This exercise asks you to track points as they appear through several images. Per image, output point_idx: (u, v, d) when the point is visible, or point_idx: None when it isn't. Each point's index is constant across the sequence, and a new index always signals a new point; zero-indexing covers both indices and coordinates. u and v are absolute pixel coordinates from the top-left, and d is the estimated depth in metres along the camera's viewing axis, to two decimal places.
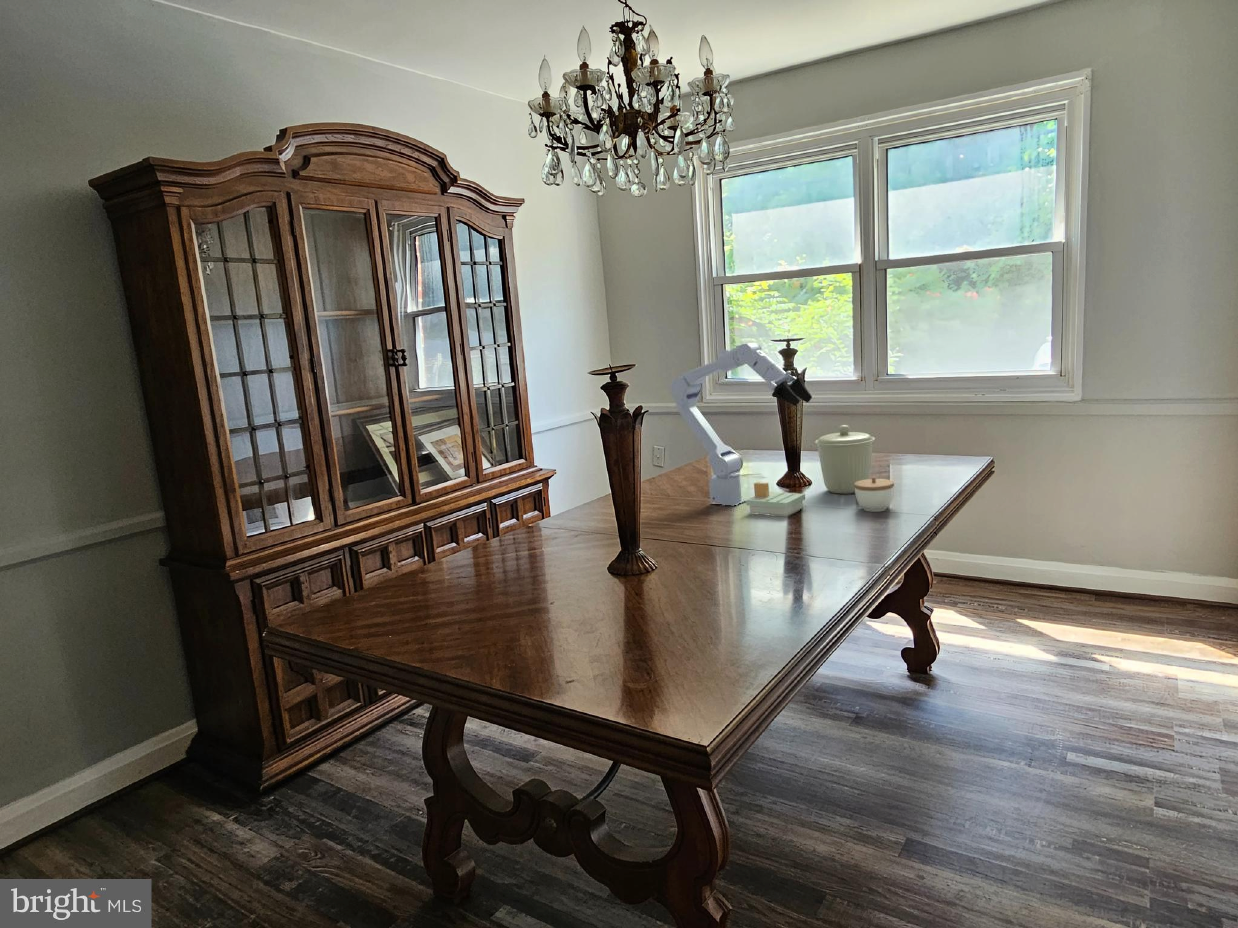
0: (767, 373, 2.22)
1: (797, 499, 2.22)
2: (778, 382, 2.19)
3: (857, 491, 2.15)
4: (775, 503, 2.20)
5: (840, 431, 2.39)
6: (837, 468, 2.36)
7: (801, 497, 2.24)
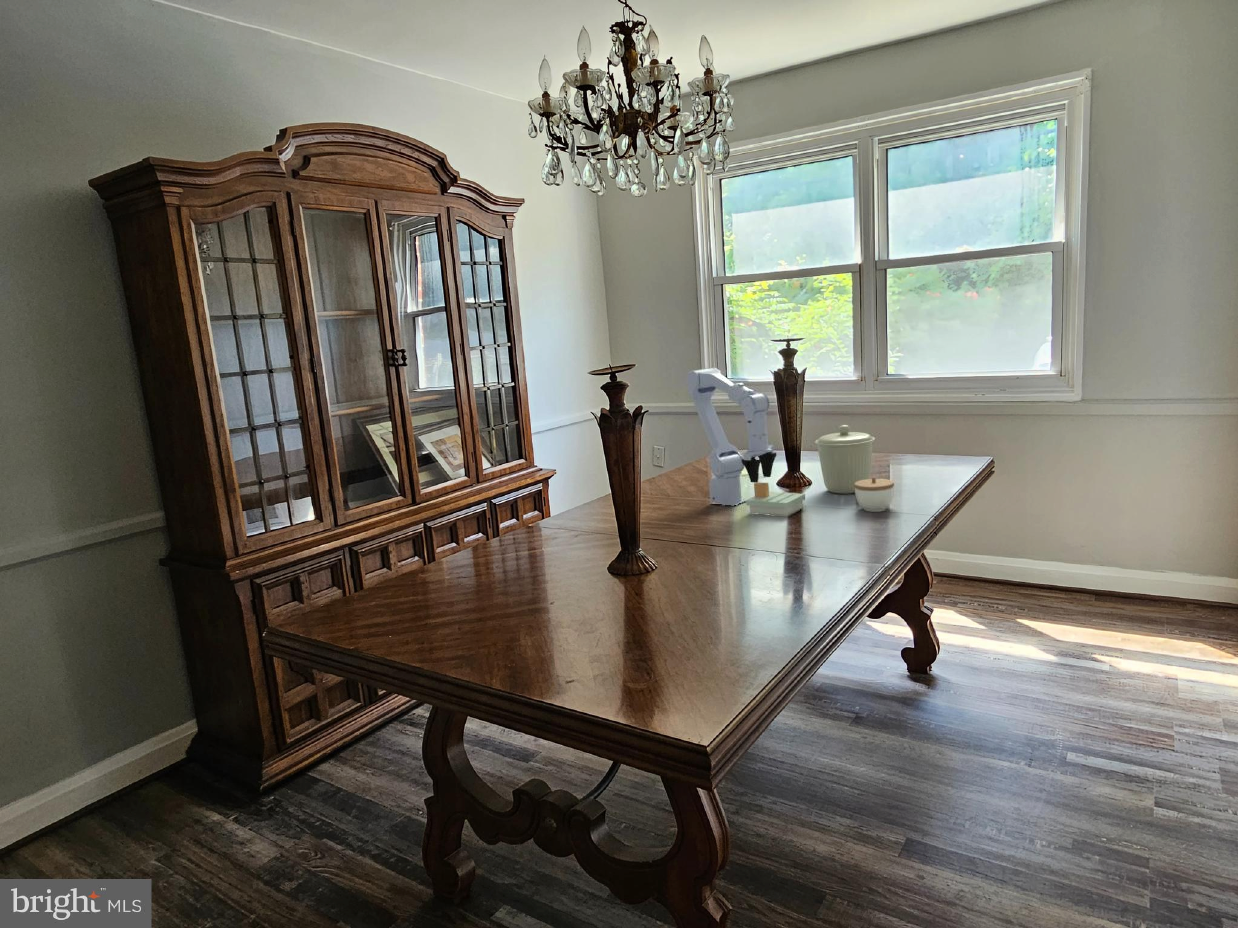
0: (753, 438, 2.24)
1: (797, 499, 2.22)
2: None
3: (857, 491, 2.15)
4: (775, 503, 2.20)
5: (840, 431, 2.39)
6: (837, 468, 2.36)
7: (801, 497, 2.24)
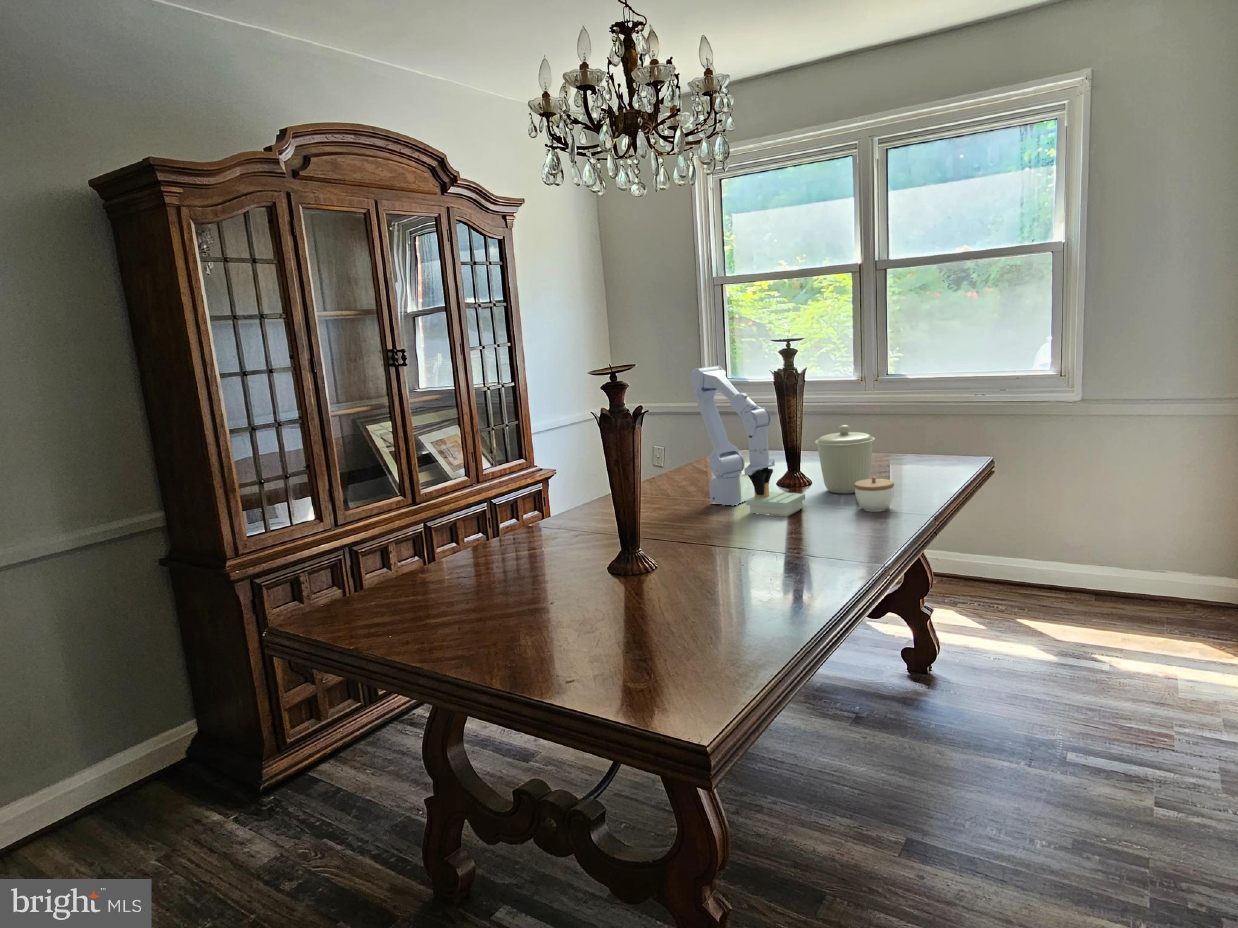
0: (754, 453, 2.24)
1: (797, 499, 2.22)
2: None
3: (857, 491, 2.15)
4: (775, 503, 2.20)
5: (840, 431, 2.39)
6: (837, 468, 2.36)
7: (801, 497, 2.24)
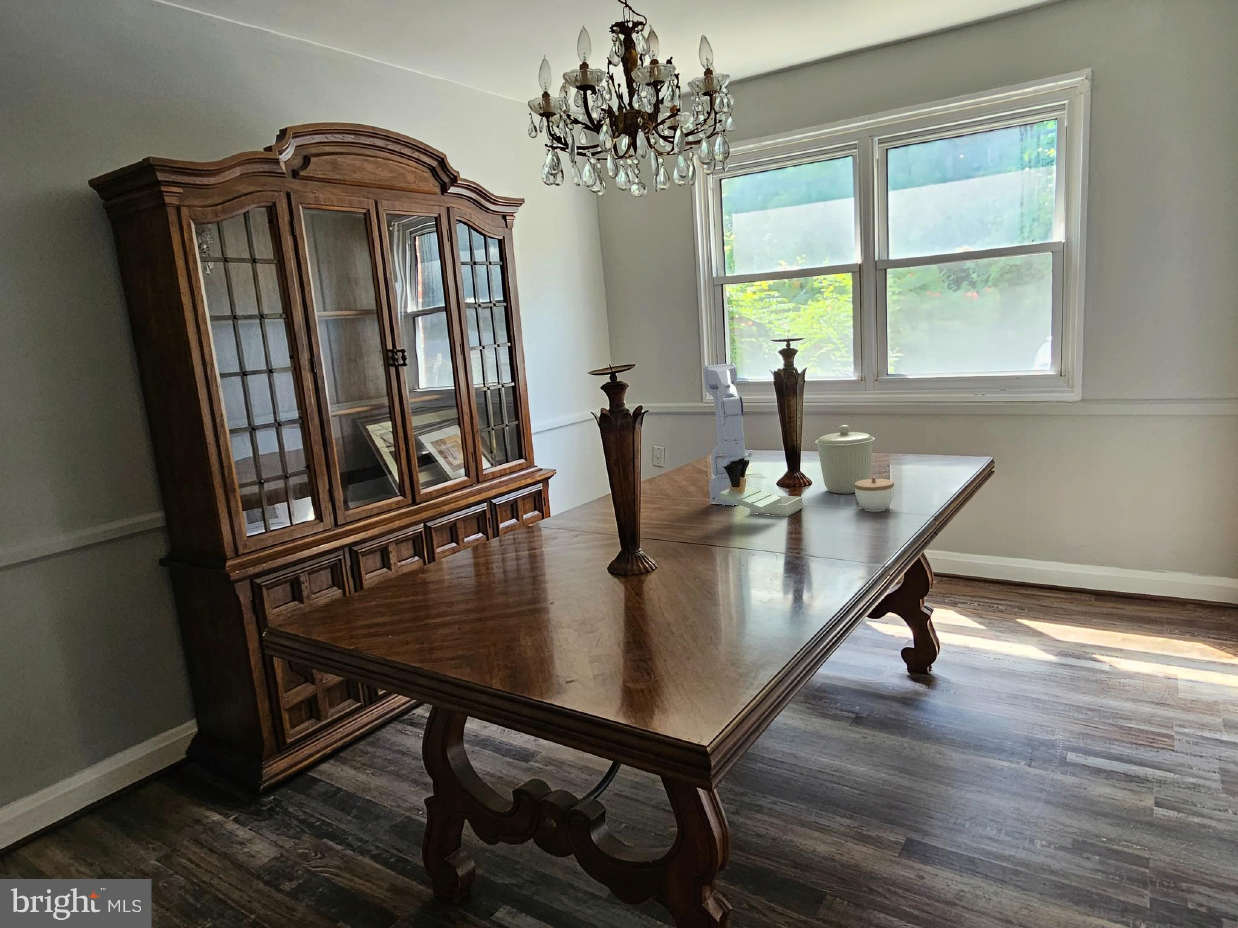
0: (729, 443, 2.14)
1: (772, 503, 2.13)
2: None
3: (857, 491, 2.15)
4: (749, 504, 2.10)
5: (840, 431, 2.39)
6: (837, 468, 2.36)
7: (777, 501, 2.15)
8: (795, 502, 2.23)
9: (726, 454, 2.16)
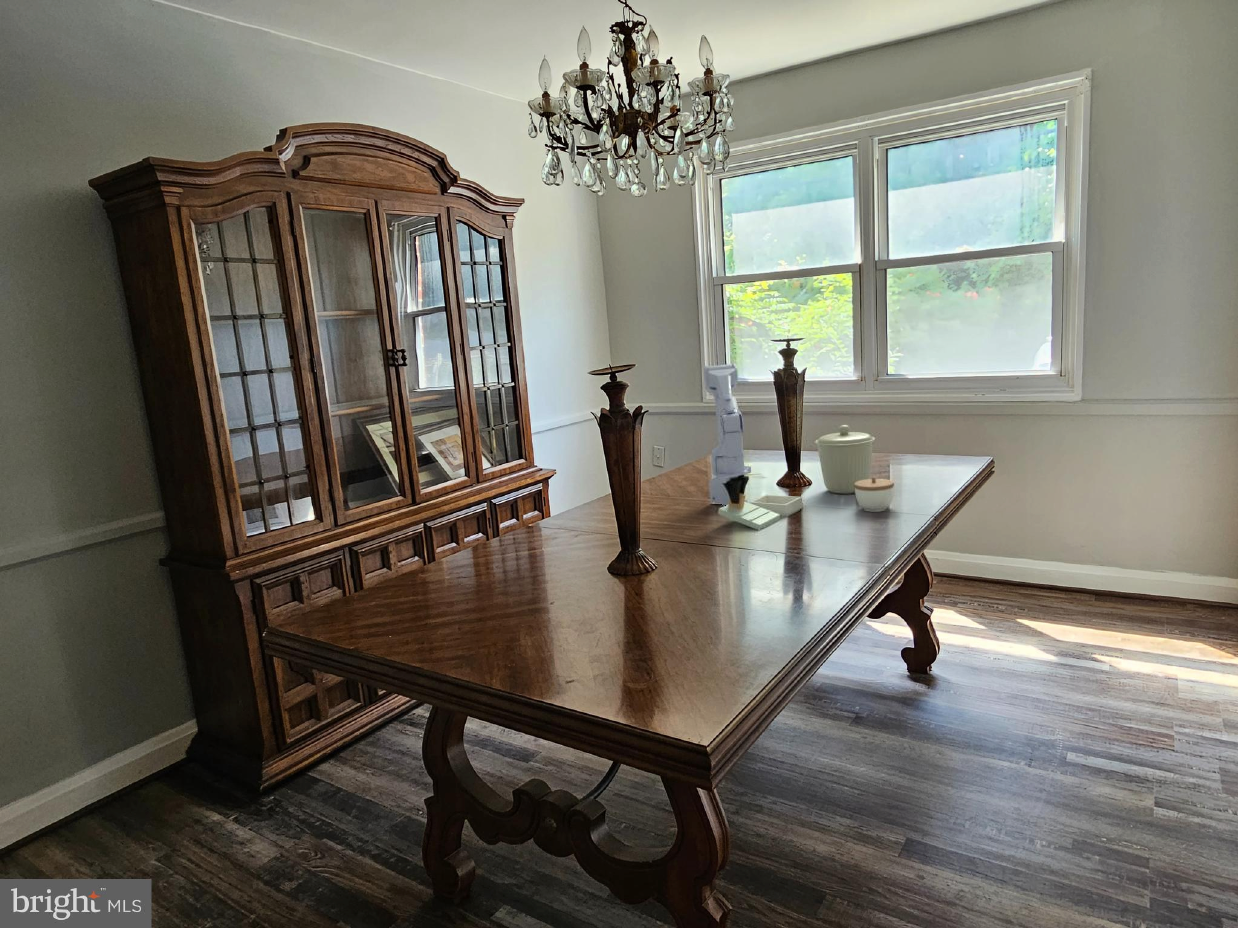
0: (729, 459, 2.14)
1: (771, 520, 2.13)
2: (730, 476, 2.14)
3: (857, 491, 2.15)
4: (748, 521, 2.10)
5: (840, 431, 2.39)
6: (837, 468, 2.36)
7: (775, 518, 2.15)
8: (795, 502, 2.23)
9: (725, 471, 2.16)
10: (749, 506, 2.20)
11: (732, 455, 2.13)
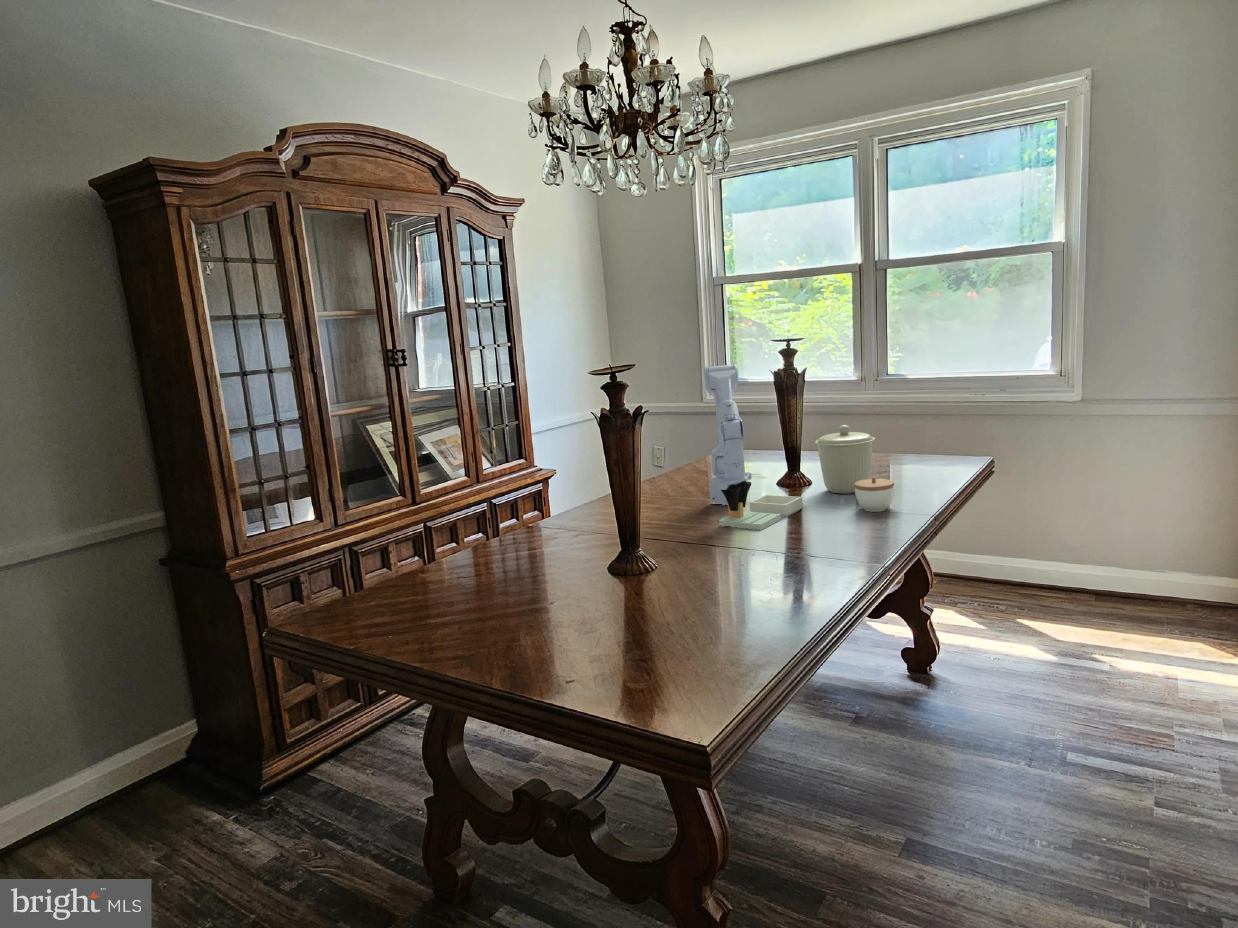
0: (729, 466, 2.14)
1: (772, 520, 2.13)
2: None
3: (857, 491, 2.15)
4: (749, 524, 2.10)
5: (840, 431, 2.39)
6: (837, 468, 2.36)
7: (776, 518, 2.15)
8: (795, 502, 2.23)
9: (726, 477, 2.16)
10: (749, 513, 2.20)
11: (733, 462, 2.13)
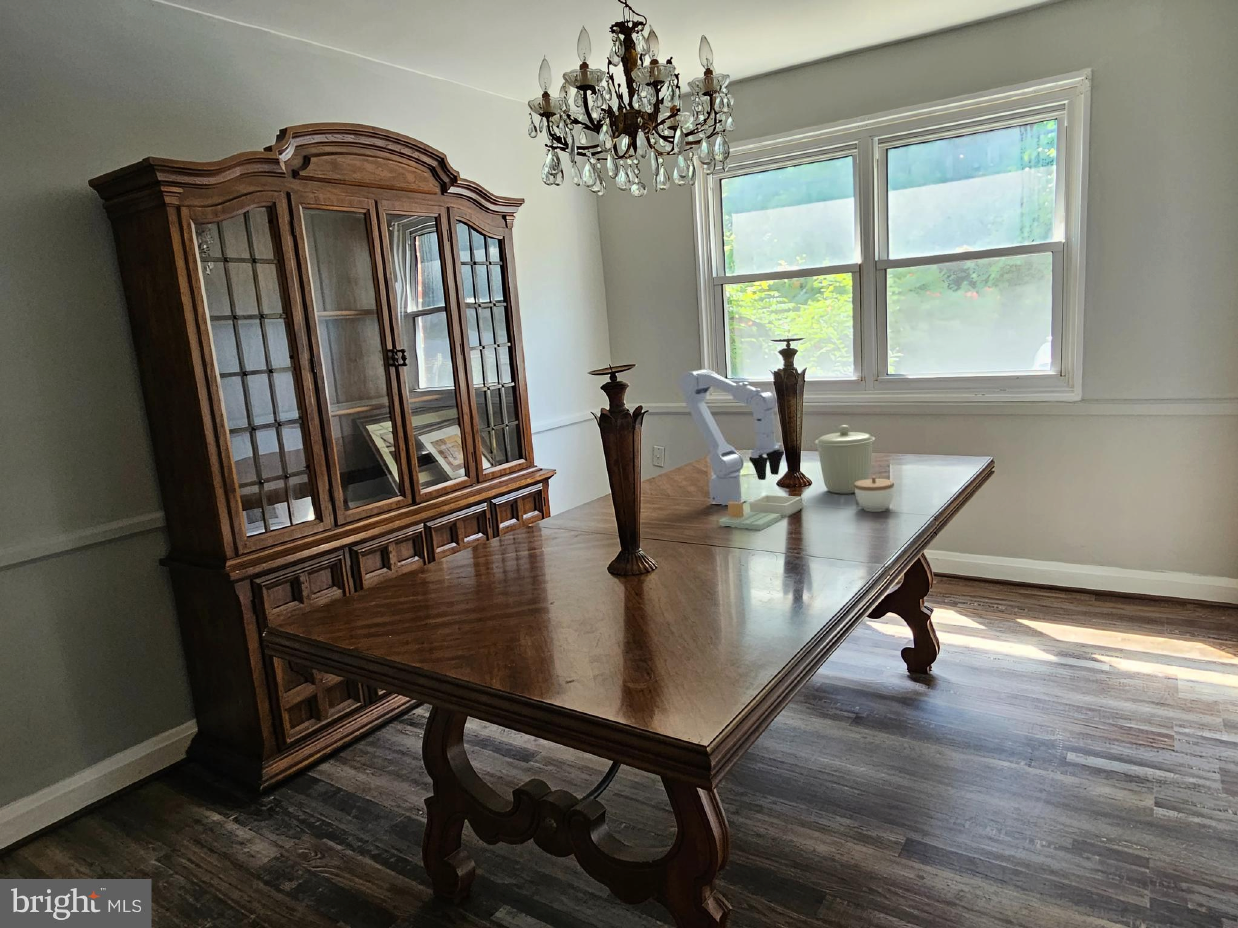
0: (761, 436, 2.26)
1: (772, 520, 2.13)
2: (762, 451, 2.26)
3: (857, 491, 2.15)
4: (749, 524, 2.10)
5: (840, 431, 2.39)
6: (837, 468, 2.36)
7: (776, 518, 2.15)
8: (795, 502, 2.23)
9: (758, 446, 2.28)
10: (749, 513, 2.20)
11: (772, 430, 2.26)
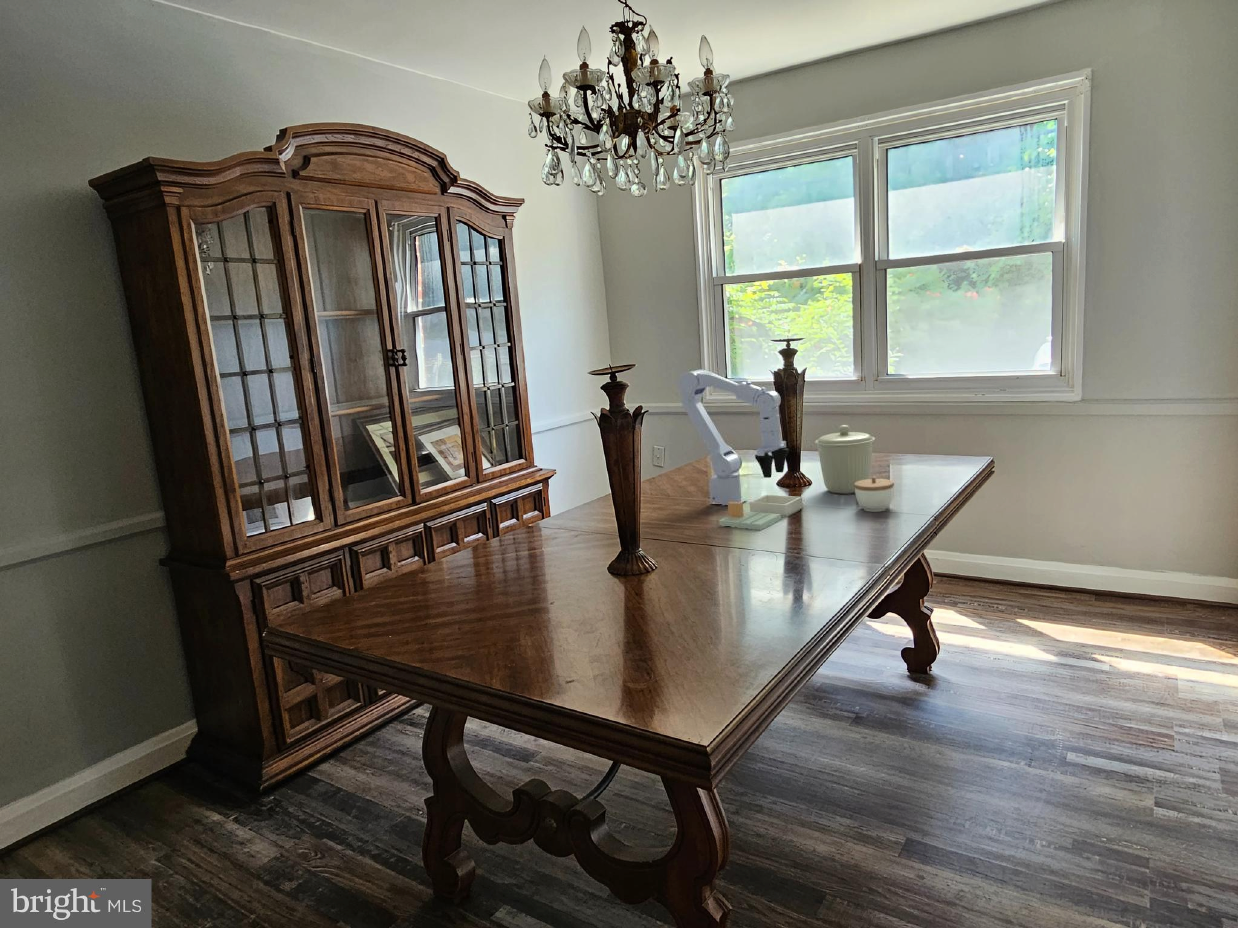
0: (766, 434, 2.29)
1: (772, 520, 2.13)
2: None
3: (857, 491, 2.15)
4: (749, 524, 2.10)
5: (840, 431, 2.39)
6: (837, 468, 2.36)
7: (776, 518, 2.15)
8: (795, 502, 2.23)
9: (763, 444, 2.30)
10: (749, 513, 2.20)
11: (778, 428, 2.29)
